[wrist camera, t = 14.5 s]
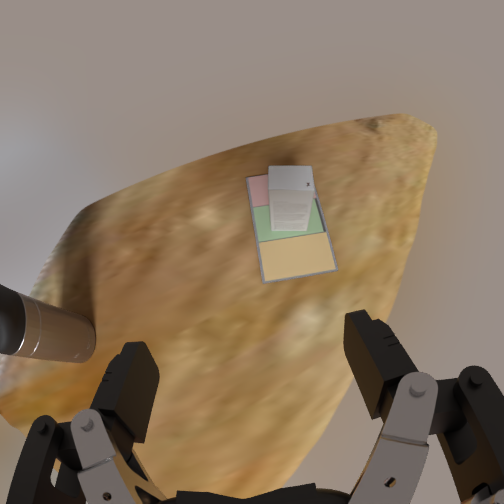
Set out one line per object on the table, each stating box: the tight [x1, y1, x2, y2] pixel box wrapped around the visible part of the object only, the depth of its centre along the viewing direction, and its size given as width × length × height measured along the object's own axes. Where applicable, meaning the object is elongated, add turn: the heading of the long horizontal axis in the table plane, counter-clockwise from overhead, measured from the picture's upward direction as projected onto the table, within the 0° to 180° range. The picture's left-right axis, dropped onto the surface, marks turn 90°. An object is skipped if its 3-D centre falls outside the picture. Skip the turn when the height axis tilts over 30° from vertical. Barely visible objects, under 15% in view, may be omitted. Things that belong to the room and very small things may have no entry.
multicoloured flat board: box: [246, 174, 338, 284], centre depth 46 cm, size 12×20×1 cm, turn 8°
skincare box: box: [268, 166, 315, 231], centre depth 40 cm, size 6×4×12 cm
